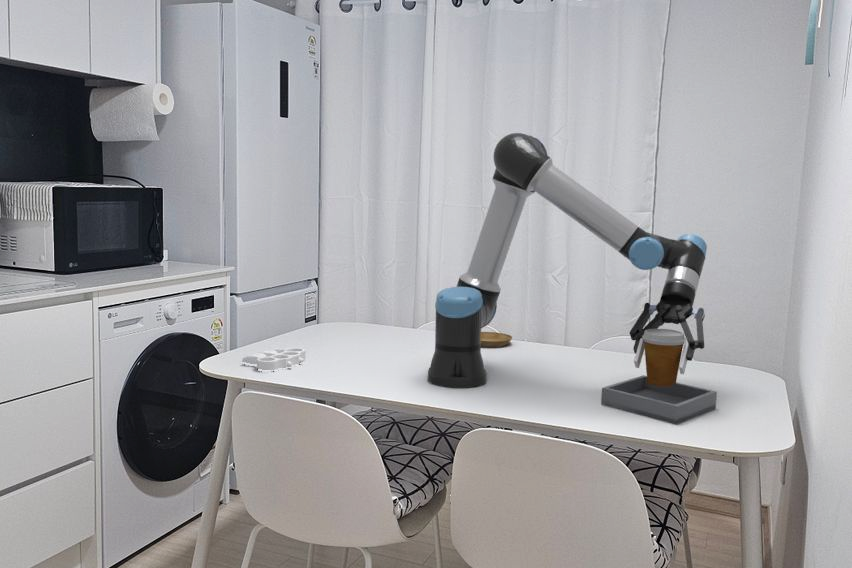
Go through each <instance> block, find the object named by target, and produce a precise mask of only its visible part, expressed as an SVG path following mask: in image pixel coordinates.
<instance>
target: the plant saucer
mask: <svg viewBox="0 0 852 568" xmlns="http://www.w3.org/2000/svg"><path fill="white" fill-rule="evenodd" d="M512 340H513V336H512V335H511V334H507V333H502V332H498V331H497V332H496V331H481V347H483V348H500V347H505V346H507V345H508V344H509V343H510V342H511V341H512Z"/></svg>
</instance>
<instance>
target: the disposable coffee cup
mask: <svg viewBox="0 0 852 568" xmlns="http://www.w3.org/2000/svg"><path fill="white" fill-rule="evenodd" d="M642 338H643V341H644V346H645V349H644V356H645V370H646V376H647V383H649V384H651V385H654V386H660V387H671V386H675V385H676V383H677V379H678V375H679V374H678V373H679V365H680V361H681V357H682V353H683V349H684V345H685V342H687V339H686V337H685V334H684V331H683V332H682V331H680V330H675V329H671V328H670V329H669V328H657V329H648V330H645V332H644V335H643V336H642Z"/></svg>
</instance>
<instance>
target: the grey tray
mask: <svg viewBox="0 0 852 568" xmlns="http://www.w3.org/2000/svg"><path fill="white" fill-rule="evenodd" d="M717 393H718V391H716V390H711V389H707V388H701V387H698V386H692V385H689V384H685V383H679V382H676V385H675V386H671V387H660V386H654V385H651V384H649V383H647V375H640V376H637V377H633V378H630V379H627V380H623V381H621V382H616V383H613V384H611V385H607V386H604V387H601V397H600V401H601V402H600V405H602V406H605V407H609V408H613V409H617V410H619V411H620V410H621V411H624V412H628V413H631V414H635V415H639V416H643V417H646V418H647V417H648V418H650V419H654V420H659V421H661V422H667V423H670V424H673V425H678V424H681V423H684V422H686V421H688V420H690V419H693V418H696V417H697V416H700V415H703V414H705V413H707V412H708V413H709V412H710V411H713V410H715V409H717Z"/></svg>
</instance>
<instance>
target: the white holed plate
mask: <svg viewBox="0 0 852 568" xmlns="http://www.w3.org/2000/svg"><path fill="white" fill-rule="evenodd" d="M305 359H307V357H306V349H304V348H300V347H290V348H277V347H276V348H275V347H274V348H269V349H267V350H265V351H260V352H259V351H258V352H257V353H255V354H252V355H247V356H244V357H243V358H242V360H241V362H246V363H250V364H257V367H256V369H257V368H258V369H262V370H275V369H278V368H286V367H291V366H292V365H295V364H300V363H301V364H302V363H303V362H306V361H305ZM301 364H300V365H301Z"/></svg>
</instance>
